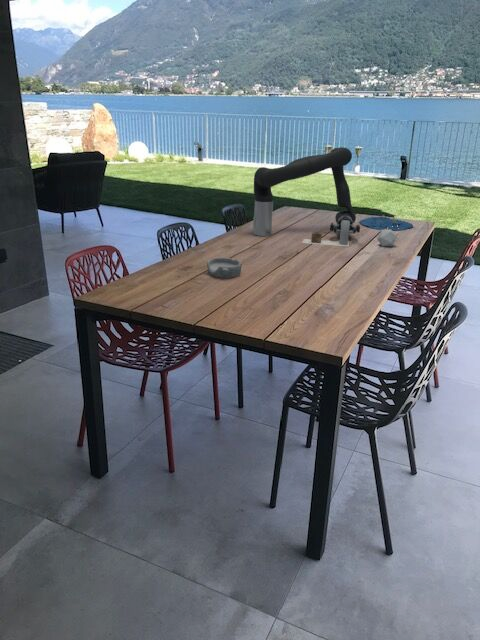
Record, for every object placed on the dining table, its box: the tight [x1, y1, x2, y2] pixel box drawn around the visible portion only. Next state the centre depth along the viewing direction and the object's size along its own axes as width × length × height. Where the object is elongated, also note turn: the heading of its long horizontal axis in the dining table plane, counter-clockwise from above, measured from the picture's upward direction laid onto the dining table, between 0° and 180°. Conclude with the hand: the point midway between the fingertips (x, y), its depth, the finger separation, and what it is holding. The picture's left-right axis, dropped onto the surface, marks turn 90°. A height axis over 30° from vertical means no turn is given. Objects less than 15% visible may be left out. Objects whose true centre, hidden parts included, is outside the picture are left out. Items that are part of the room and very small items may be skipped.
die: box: [376, 229, 398, 247], centre depth 259 cm, size 8×9×10 cm
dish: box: [206, 257, 243, 279], centre depth 211 cm, size 14×14×5 cm
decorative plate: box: [359, 214, 414, 231], centre depth 305 cm, size 30×30×5 cm
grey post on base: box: [301, 220, 350, 247], centre depth 255 cm, size 22×8×12 cm, turn 79°
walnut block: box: [311, 231, 323, 243], centre depth 256 cm, size 4×4×4 cm
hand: (344, 230), depth 254 cm, fingers open, 8 cm apart
